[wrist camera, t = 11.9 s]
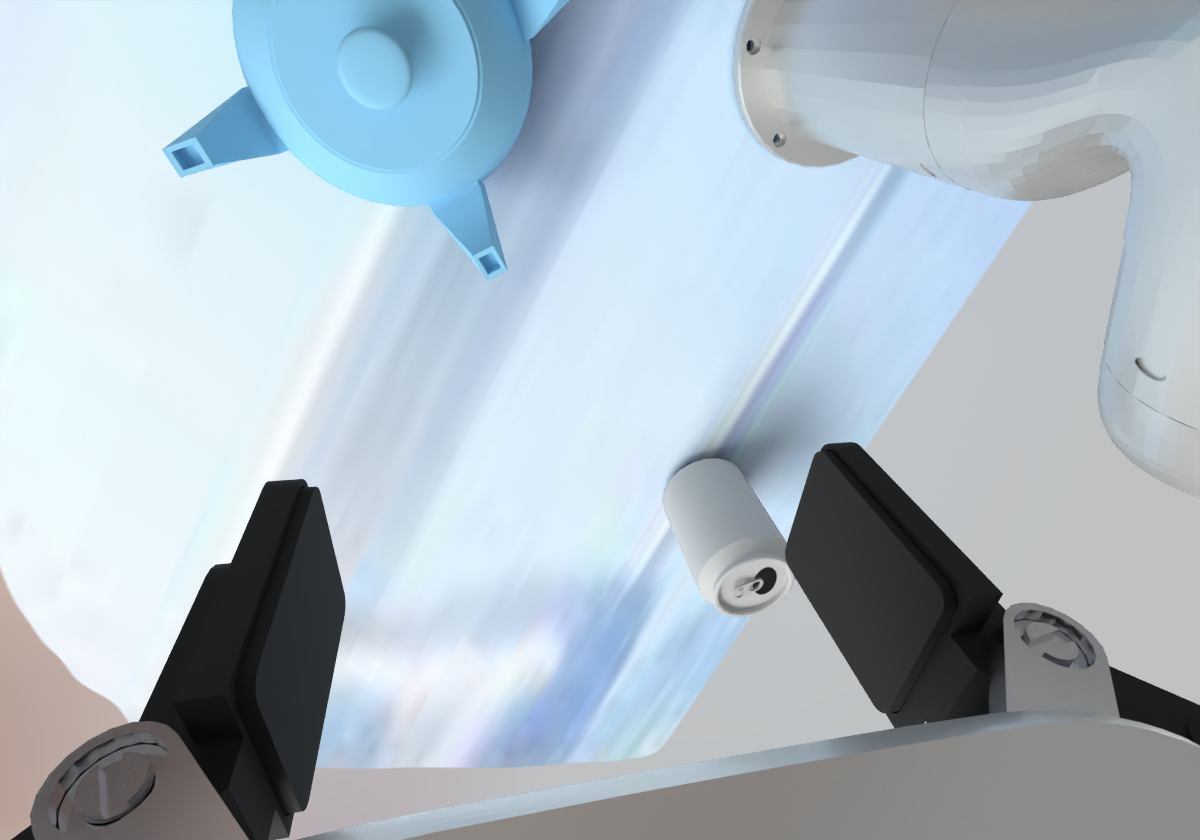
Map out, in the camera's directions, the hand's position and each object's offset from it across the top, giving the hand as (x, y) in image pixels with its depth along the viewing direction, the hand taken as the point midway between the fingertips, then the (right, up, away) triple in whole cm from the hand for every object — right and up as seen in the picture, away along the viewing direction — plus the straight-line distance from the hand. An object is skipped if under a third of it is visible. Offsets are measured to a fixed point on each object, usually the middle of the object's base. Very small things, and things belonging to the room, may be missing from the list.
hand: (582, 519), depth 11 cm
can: (+9, -4, +42) cm, 43 cm away
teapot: (-10, +21, +21) cm, 32 cm away
